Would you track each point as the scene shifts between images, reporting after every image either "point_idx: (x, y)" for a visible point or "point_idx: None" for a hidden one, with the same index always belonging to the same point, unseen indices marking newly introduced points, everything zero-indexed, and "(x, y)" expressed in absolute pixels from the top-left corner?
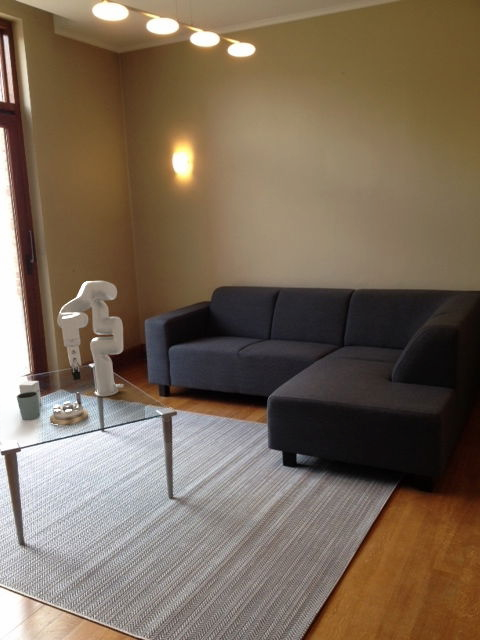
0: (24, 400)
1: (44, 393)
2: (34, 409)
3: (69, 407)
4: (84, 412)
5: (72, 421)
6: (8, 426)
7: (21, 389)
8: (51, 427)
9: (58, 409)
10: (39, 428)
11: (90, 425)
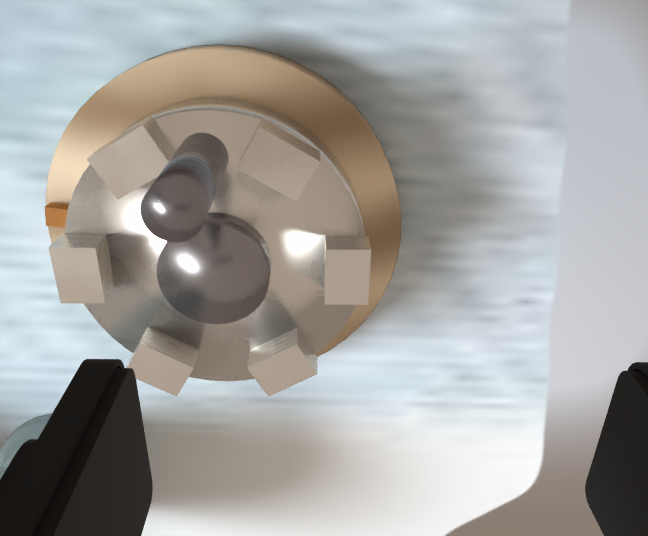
0: None
1: None
2: None
3: (262, 264)
4: (226, 87)
5: (399, 216)
6: None
7: None
8: (359, 353)
9: (270, 360)
10: (332, 420)
11: (514, 56)
